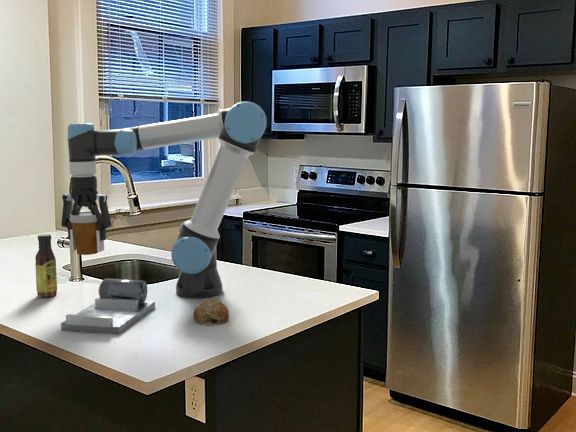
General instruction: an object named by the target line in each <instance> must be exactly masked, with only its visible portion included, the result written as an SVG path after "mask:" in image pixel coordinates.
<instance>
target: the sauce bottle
mask: <svg viewBox="0 0 576 432" xmlns="http://www.w3.org/2000/svg"><path fill="white" fill-rule="evenodd" d="M37 240H38V250H37V252H36V254H35V264H34V265H35V266H34V267H35V284H36V293H37V294H36V295H37V297H39V298H50V297H51V298H52V297H54V296H56V295H57V294H58V292H57V291H58V279H57V278H58V277H57V276H58V275H57V258H56V256H55V254H54V251H53V249H52V234H49V233H43V234H38V235H37Z"/></svg>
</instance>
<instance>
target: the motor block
mask: <svg viewBox="0 0 576 432" xmlns="http://www.w3.org/2000/svg"><path fill="white" fill-rule="evenodd" d="M147 297H148V285H147V283H146V281H145V280H142V279H141V280H139V279H138V280H137V279H120V278H118V279H117V278H103V280H102V281H101V283H100V285H99V287H98V297H95V298H94V303H92V304H91V305H89V306H88V307H86V308H84V309H82V310H81V311H79V312H77V313H76V314H72V313H67V314H66V315H65V320H64V321H62V322H60V330H61V331H69V332H80V331H83V332H84V333H85V332H86V333H95V332H100V333H101V334H109V333H116V334H115V335H120V334H121V332H122V331H123V332H124V331H126V330H127V329H129V328H130V327H132V326H133V325H134V324H135V323H137V322H138V321H139V320H141V319H142V318H143V317H145V316H146V315H147V314H148V313H150V312H151V311H153V310H154V309H156V301H154V300H147ZM140 318H141V319H140ZM136 321H137V322H136ZM133 323H134V324H133ZM129 326H130V327H129ZM125 329H126V330H125ZM83 332H82V333H83ZM123 332H122V333H123ZM100 333H99V334H100Z"/></svg>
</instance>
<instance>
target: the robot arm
mask: <svg viewBox="0 0 576 432" xmlns="http://www.w3.org/2000/svg"><path fill="white" fill-rule="evenodd" d="M267 123H268V122H267V115H266V113H265V111H264V109H263V108H262V107H261V106H260V105H259V104H256V103H255V102H251V101H250V100H248V101H247V100H245V101H239V102H236V103H235V104H233V105H232V106H231V107H229V108H223V109H220V110H219V111H218V113H213V114H206V115H200V116H195V117H194V116H193V117H188V118H182V119H176V120H169V121H163V122H157V123H151V124H150V123H149V124H144V125H138V126H131V127H123V128H119V129H118V128H117V129H96V128H95V126H94V123H91V122H90V123H88V122H87V123H85V122H83V123H79V122H77V123H75V122H74V123H69V125H68V126H67V146H68V147H67V148H68V158H69V160H68V161H69V163H68V164H69V165H68V167H69V175H70V178H69V179H70V180H69V181H70V188H71V193H65V194H62V197H61V198H62V204H63V205H62V214H61V223H60V224H61V227H64V228H66V229H67V236H68V240H70V247H71V249H70V251H77V250H76V245H75V240H74V235H73V230H72V224H71V222H70V220H69V218H70V215H71V214H72V215H77V214H79V213H80V212H81V209H83V207H85V208H87V209H88V210H89V212H91V213H92V215H96V218H97V222H96V224H97V226H98V230H96V235H97V252H98V253H100V252H103V251H105V241H106V239H107V232H106V230H107V229H108V228H111V227H112V222H111V216H110V212H109V208H108V207H109V205H108V195H107V194H100V193H98V178H97V176H96V174H97V161H96V160H97V159H96V157H97V156H122V157H123V156H132V155H135V153H136V152H139V151H145V150H150V149H156V148H164V147H170V146H175V145H176V146H177V145H183V144H188V143H189V144H190V143H196V142H200V141H201V142H202V141H208V140H215V139H218V142H219V144H220V147H219V149H218V151H217V154H216V156H215V159H214V162H213V164H212V166H211V169H210V171H209V173H208V176H207V178H206V181H205V184H204V185H203V188H202V191H201V193H200V196H199V199H198V201H197V203H196V206H195V208H194V210H193V213H192V215H191V218H190V219H187V220H185V221H184V222H183V223H181V224H180V225H179V229H178V233H179V234H178V235H177V239H176V241H175V242H174V243H173V245H172V247H171V252H170V256H171V260H172V263H173V265H174V266H175V268H177V269H178V270H179V275H178V279H177V282H176V284H175V293H176V295H177V296H179V297H183V298H188V299H190V298H191V299H203V298H211V297H214V296H217V295H221V294H222V293H223V283H222V280H221V277H220V274H219V271H218V268H217V267H218V264H217V258H218V257H217V244H218V242H219V241H220V237H221V235H220V232H219V230H218V228H219V227H220V224H221V222H222V219H223V218H224V215H225V213H226V210H227V207H228V206H229V203H230V200H231V198H232V196H233V194H234V190H235V188H236V186H237V184H238V181H239V179H240V177H241V174H242V171H243V169H244V167H245V165H246V163H247V162H246V161H247V159H248V158H249V156H252V155H254V154H255V153H256V151H257V149H258V147H259V144H260V141H261V138H262V137H263V135H264V134H265V131H266V129H267ZM72 200H73V201H74V202H73V205H72ZM97 201H98V203H97ZM100 213H101V214H100ZM98 214H99V215H98Z"/></svg>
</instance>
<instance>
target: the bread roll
mask: <svg viewBox="0 0 576 432" xmlns="http://www.w3.org/2000/svg"><path fill="white" fill-rule="evenodd" d="M229 319H230V311H229V308H228V306H227V305H226V304H225V303H223V301H221V300H218V299H216V298H208V299H205V300H204V301H202V302H201V303H200V304H198V305H197V306H196V307H195V308H194V309H193V321H195V322H196V323H197V324H199V323H200V325H202V324H206V325H205V326H214V325H213V324H217V325H221V324H220V323H222V324H225V323H227V322H228V321H229Z"/></svg>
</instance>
